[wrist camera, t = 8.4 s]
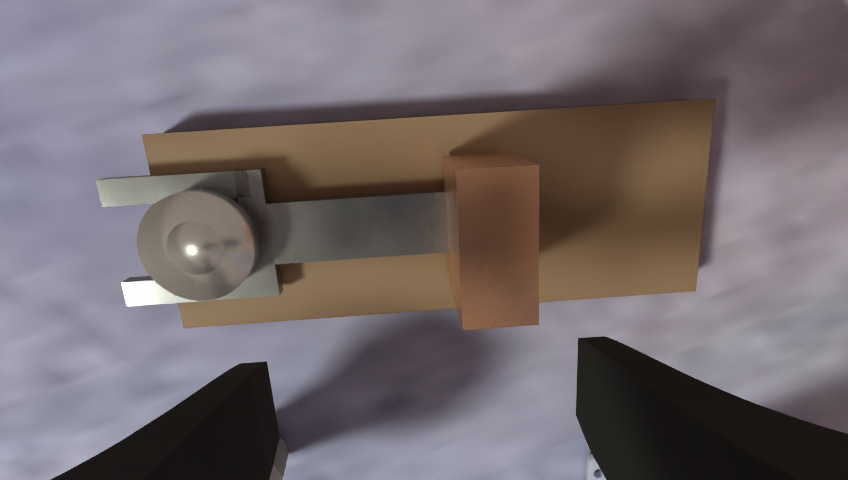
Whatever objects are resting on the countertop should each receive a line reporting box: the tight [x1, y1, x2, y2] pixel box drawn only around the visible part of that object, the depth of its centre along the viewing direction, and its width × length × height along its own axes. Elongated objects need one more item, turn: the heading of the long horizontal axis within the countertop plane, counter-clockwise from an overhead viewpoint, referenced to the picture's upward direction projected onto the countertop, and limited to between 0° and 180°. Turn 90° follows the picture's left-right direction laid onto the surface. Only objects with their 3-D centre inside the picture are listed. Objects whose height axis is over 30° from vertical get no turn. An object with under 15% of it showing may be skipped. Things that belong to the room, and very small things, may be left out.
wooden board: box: [142, 98, 715, 328], centre depth 19 cm, size 8×22×2 cm, turn 94°
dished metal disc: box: [137, 189, 260, 301], centre depth 17 cm, size 4×4×2 cm
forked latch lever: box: [96, 152, 539, 330], centre depth 16 cm, size 5×16×5 cm, turn 93°
